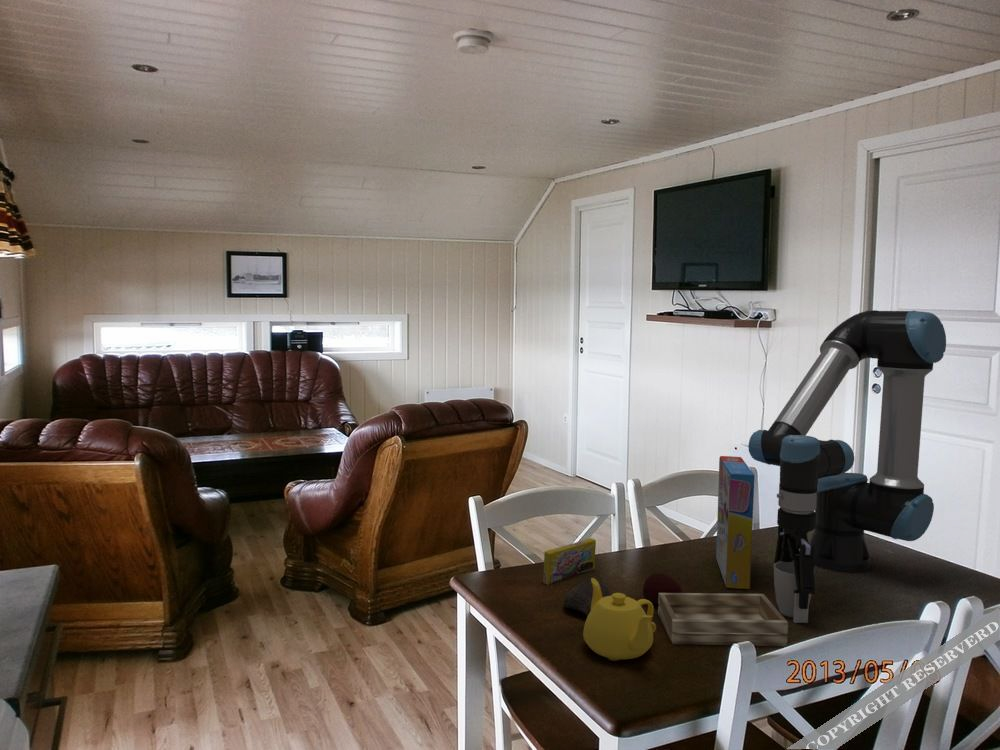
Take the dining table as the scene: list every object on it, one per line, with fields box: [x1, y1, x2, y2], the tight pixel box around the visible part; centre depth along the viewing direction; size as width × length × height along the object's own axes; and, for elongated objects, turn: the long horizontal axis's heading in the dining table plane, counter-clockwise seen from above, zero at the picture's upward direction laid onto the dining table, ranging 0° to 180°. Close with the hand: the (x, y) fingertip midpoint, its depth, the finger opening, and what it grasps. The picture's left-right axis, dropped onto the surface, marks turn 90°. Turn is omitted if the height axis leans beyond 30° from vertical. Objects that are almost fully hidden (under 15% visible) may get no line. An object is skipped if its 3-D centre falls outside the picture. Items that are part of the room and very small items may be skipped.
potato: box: [642, 572, 683, 606], centre depth 163 cm, size 7×8×7 cm
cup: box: [773, 562, 816, 619], centre depth 159 cm, size 8×8×10 cm
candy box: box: [542, 537, 597, 586], centre depth 178 cm, size 16×2×8 cm, turn 131°
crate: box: [657, 592, 789, 647], centre depth 150 cm, size 22×14×5 cm, turn 89°
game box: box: [715, 455, 755, 590], centre depth 181 cm, size 21×6×27 cm, turn 170°
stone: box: [563, 578, 612, 618], centre depth 158 cm, size 10×8×10 cm
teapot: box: [582, 577, 657, 662], centre depth 141 cm, size 20×15×12 cm
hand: (791, 612), depth 159 cm, fingers open, 9 cm apart
